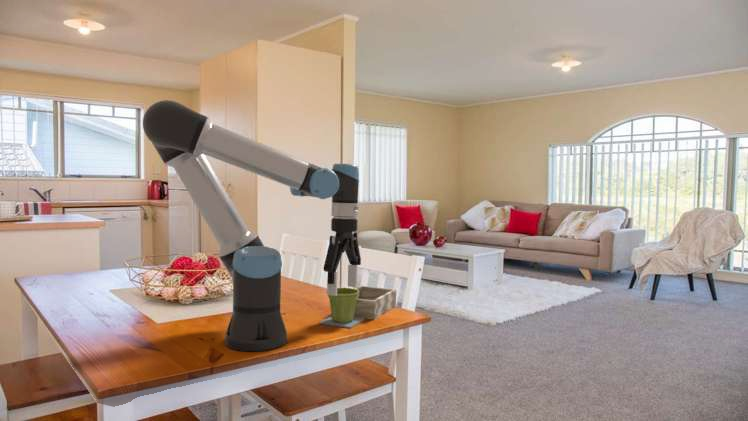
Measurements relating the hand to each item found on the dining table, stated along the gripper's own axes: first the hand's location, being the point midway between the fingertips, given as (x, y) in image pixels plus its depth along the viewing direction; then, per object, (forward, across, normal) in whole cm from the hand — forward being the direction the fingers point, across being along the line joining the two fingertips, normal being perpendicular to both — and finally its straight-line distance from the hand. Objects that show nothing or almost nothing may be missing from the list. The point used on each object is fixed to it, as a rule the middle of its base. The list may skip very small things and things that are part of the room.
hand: (342, 290), depth 153 cm
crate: (+9, +16, -1) cm, 18 cm away
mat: (+9, 0, 0) cm, 9 cm away
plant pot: (+9, 0, 0) cm, 9 cm away
